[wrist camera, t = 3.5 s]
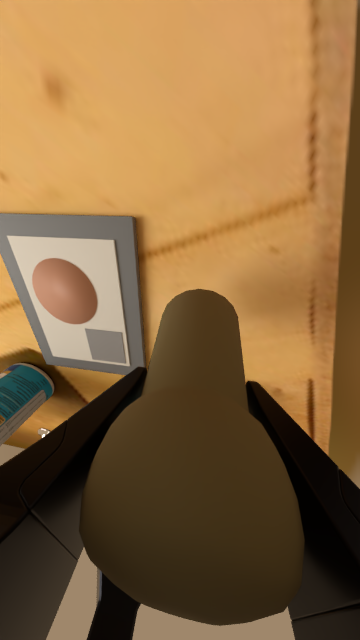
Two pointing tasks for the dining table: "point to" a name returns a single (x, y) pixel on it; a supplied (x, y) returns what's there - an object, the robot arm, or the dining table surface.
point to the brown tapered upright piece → (194, 482)
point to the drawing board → (78, 287)
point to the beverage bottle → (21, 396)
